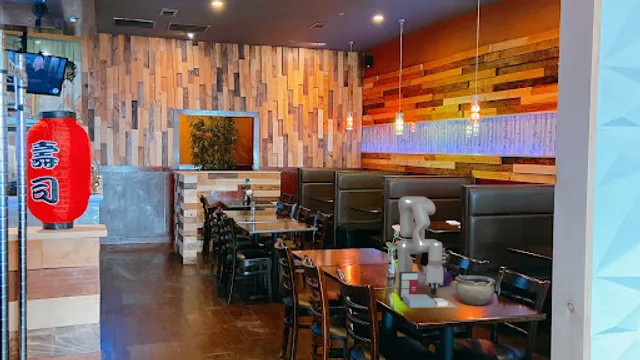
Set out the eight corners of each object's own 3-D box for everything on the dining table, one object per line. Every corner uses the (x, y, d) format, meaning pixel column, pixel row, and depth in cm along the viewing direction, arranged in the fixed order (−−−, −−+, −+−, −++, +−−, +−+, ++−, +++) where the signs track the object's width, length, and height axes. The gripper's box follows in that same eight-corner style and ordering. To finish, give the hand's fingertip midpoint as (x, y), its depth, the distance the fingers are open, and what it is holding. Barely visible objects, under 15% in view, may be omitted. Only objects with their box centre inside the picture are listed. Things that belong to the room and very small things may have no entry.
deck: (402, 301, 327) (403, 294, 326) (426, 301, 328) (426, 294, 328) (409, 307, 313) (410, 300, 313) (434, 307, 315) (434, 300, 314)
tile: (442, 298, 327) (442, 301, 327) (432, 298, 326) (432, 301, 326) (447, 302, 318) (447, 305, 318) (437, 302, 317) (437, 305, 317)
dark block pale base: (400, 298, 334) (401, 273, 334) (398, 296, 338) (399, 271, 338) (418, 297, 336) (418, 272, 336) (415, 295, 340) (416, 271, 340)
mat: (427, 301, 328) (427, 300, 328) (448, 301, 330) (448, 300, 330) (434, 307, 315) (434, 306, 315) (457, 307, 316) (457, 306, 316)
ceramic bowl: (466, 309, 312) (467, 282, 312) (448, 299, 333) (448, 274, 333) (501, 307, 318) (502, 281, 318) (481, 298, 339) (481, 273, 339)
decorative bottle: (456, 283, 379) (457, 246, 378) (460, 290, 358) (462, 251, 357) (422, 281, 382) (424, 245, 381) (425, 288, 361) (426, 250, 360)
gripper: (445, 261, 326) (443, 293, 326) (420, 261, 324) (418, 293, 325) (449, 264, 318) (448, 296, 319) (424, 264, 316) (422, 296, 317)
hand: (433, 294), depth 322 cm, fingers closed
